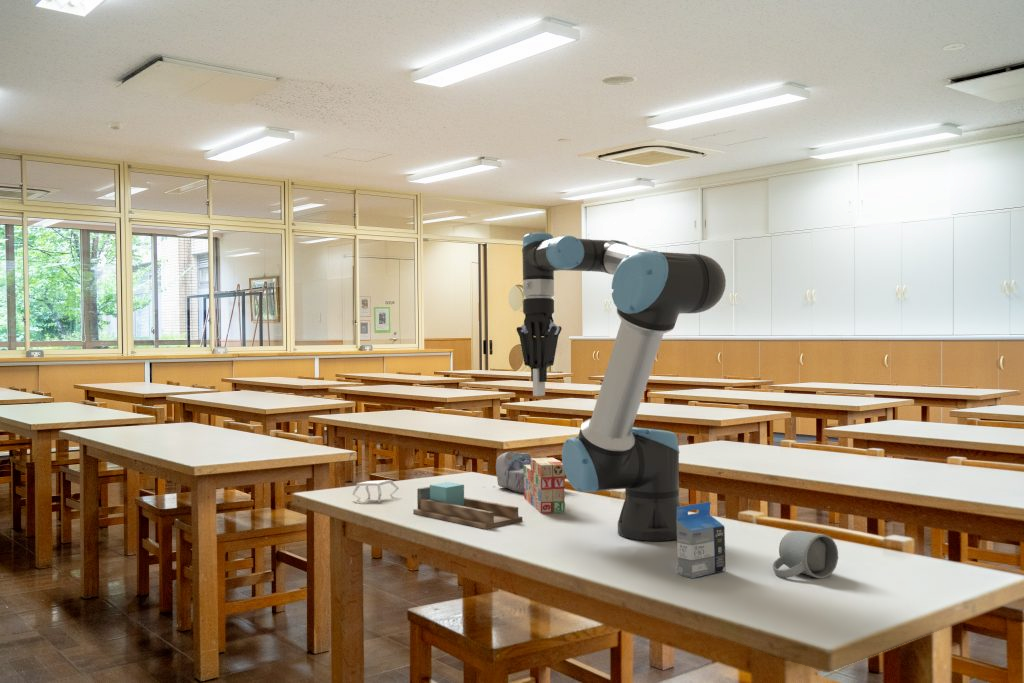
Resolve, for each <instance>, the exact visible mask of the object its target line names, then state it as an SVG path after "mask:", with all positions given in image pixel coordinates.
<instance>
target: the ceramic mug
mask: <svg viewBox="0 0 1024 683" xmlns="http://www.w3.org/2000/svg"><path fill="white" fill-rule="evenodd" d="M778 553H779V555H778V556H779V557H778V558H777V559H776V560H774V561H773V563H772V569H773V571H774V574H775V575H776V576H777V577H779V578H782V579H785V578H786V579H788V578H793V577H796V576H798V575H800V574H805V575H807V576H810V577H812V578H814V579H825V578H828V577H829V576H831V575H832V573H833V572H834V571H835V570H836V568H837V565H838V560H839V550H838V546H837V543H836V542H835V540H834V539H833V538H832V537H831V536H829V535H827V534H825V533H816V532H809V531H804V530H793V531H788V532H786V534H785V535H784V536H782V538H781V540H780V543H779V546H778ZM783 565H784V566H786V567H787V568H786V569H780V568H781V567H782V566H783Z"/></svg>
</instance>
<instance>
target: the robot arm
mask: <svg viewBox="0 0 1024 683" xmlns="http://www.w3.org/2000/svg"><path fill="white" fill-rule="evenodd" d="M521 252H522V296H523V297H524V299H523V300H522V313H523V314H524V315H525V316H524V319H523V324H522V325H521V326H517V327H516V333H517V334H518V336H519V342H520V348H521V352H522V357H523V364H524V366H527V367H529V368H530V378H531V382H532V396H533V397H541V396H542V397H543V396H544V397H545V396H546V382H547V380H548V376H547V375H548V373H547V371H548V370H547V369H548V368H549V367H552V366H554V365H555V358H556V357H555V356H556V352H557V347H558V341H559V336H560V334H561V331H562V330H563V328H562V326H561V325H557V324H555V323H554V322H555V321H554V318H553V314H554V313H555V300H554V299H553V297H554V296H555V276H554V275H555V274H554V273H555V271H569V272H570V271H571V272H573V271H575V272H598V273H604V274H607V275H612V281H611V289H612V290H613V291H612V292H611V298H612V302H613V304H614V305H615V307H616V314H617V315H618V317H619V319H620V320H621V321H620V325H619V327H618V330H617V334H616V337H615V341H614V343H613V346H612V350H611V353H610V356H609V359H608V364H607V365H606V370H605V373H604V376H603V380H602V383H601V386H600V389H599V392H598V396H597V399H596V402H595V406H594V409H593V412H592V415H591V418H588V419H586V420H584V421H583V422H582V423H581V426H580V429H579V433H578V435H577V436H574V435H573V436H571V437H569V438H567V439H566V440H565V441H564V443H563V445H562V450H561V462H562V463H563V467H564V472H565V478H566V479H567V481H568V482H569V484H570V486H571V487H572V488H573V489H575V490H576V491H578V492H581V493H593V494H594V493H597V492H604V491H612V490H624V489H625V490H624V491H625V493H624V494H625V497H624V502H623V503H622V504H623V505H622V507H621V511H620V514H619V518H618V520H617V534H618V535H619V536H621V537H624V538H626V539H627V538H628V539H631V540H637V541H651V542H652V541H653V542H654V541H655V542H656V541H657V542H660V541H661V542H663V541H664V542H665V541H675V540H676V541H677V523H676V520H677V507H681V506H682V504H681V502H680V492H679V491H680V486H679V485H680V480H679V479H680V476H679V474H680V473H679V470H680V469H679V468H680V467H679V466H680V464H679V463H680V460H679V458H680V456H679V455H680V448H679V437H678V436H677V434H676V433H675V432H672V431H669V430H663V429H654V428H645V427H636V426H634V423H635V421H636V420H635V419H636V417H637V414H638V411H639V408H640V406H641V402H642V399H643V397H644V393H645V391H646V387H647V385H648V381H649V379H650V375H651V372H652V370H653V367H654V364H655V362H656V361H655V360H656V358H657V354H658V351H659V348H660V346H661V342H662V341H663V340H662V339H663V336H664V334H666V333H668V332H671V331H672V330H674V329H675V326H676V323H677V320H678V317H679V315H681V314H699V313H704V312H705V311H709V310H710V309H712V308H713V307H715V306H716V305H717V304H718V303H719V302H720V300H721V299H722V298H723V295H724V293H725V290H726V282H727V280H726V275H725V272H724V270H723V268H722V266H721V265H720V263H718V262H717V261H716V260H715V259H713V258H712V257H710V256H707V255H705V254H699V253H683V252H680V253H679V252H667V251H666V252H665V251H664V252H662V251H658V250H651V249H647V248H642V247H638V246H637V247H636V246H633V245H630V244H629V243H627V242H625V241H620V240H614V239H610V240H606V239H604V240H603V239H588V238H578V237H575V236H573V235H559V236H557V237H554V236H553V234H551V233H547V232H532V233H527V234H525V235H524V236H523V238H522V249H521Z"/></svg>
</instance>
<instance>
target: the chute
mask: <svg viewBox="0 0 1024 683" xmlns="http://www.w3.org/2000/svg"><path fill="white" fill-rule="evenodd" d="M416 496H417V504H416V505H417V508H414V509H413V513H412V514H414V515H419V516H422V517H427V518H428V517H429V518H432V519H436V520H441V521H446V522H451V523H456V524H461V525H465V526H468V525H469V527H473V526H474V527H475V528H479V529H482V528H483V530H488V529H489V530H490V529H492V528H493V527H494V528H498V527H502V526H508V525H510V524H516V523H521V522H523V516H520V515H519V506H513V505H508V504H503V503H498V502H493V501H492V502H491V501H486V500H481V499H476V498H470V497H466V496H464V506H460V505H455V504H450V503H444V502H439V501H434V500H430V486H426V487H419V488H417V495H416Z"/></svg>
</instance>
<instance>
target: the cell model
mask: <svg viewBox="0 0 1024 683" xmlns="http://www.w3.org/2000/svg"><path fill="white" fill-rule="evenodd" d="M531 458H532V457H531V455H530V454H529V452H526V453H525V452H516V451H506V452H504V453H502V454H500V455H498V456H497V458H496V461H495V462H496V463H495V472H496V479H497V480H496V481H497V485H498V486H499V487H500V488H505V489H509V490H511V491H513V492H515V493H516V492H517V493H519V494H524V474H523V473H524V472H523V465H531Z"/></svg>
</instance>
